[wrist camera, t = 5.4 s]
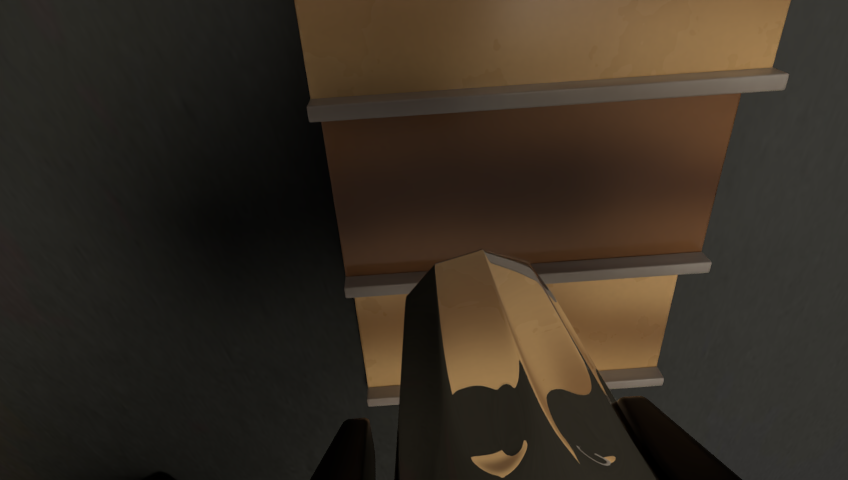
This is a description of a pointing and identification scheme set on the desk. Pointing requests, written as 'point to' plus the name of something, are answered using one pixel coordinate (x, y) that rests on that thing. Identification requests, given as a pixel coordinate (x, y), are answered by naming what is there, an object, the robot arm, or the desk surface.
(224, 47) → the desk surface
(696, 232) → the rack
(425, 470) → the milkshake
